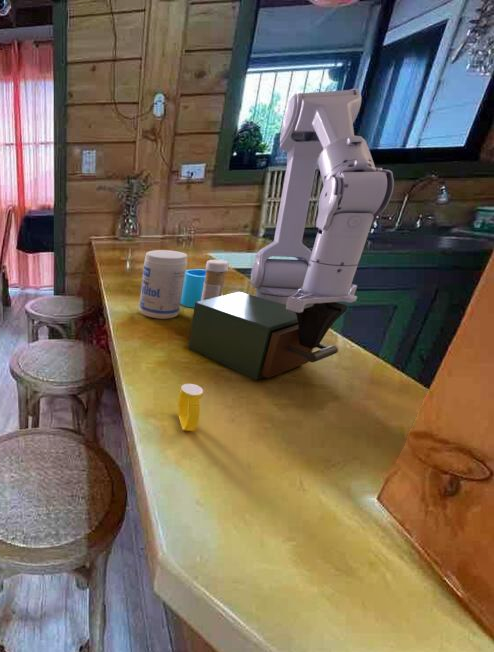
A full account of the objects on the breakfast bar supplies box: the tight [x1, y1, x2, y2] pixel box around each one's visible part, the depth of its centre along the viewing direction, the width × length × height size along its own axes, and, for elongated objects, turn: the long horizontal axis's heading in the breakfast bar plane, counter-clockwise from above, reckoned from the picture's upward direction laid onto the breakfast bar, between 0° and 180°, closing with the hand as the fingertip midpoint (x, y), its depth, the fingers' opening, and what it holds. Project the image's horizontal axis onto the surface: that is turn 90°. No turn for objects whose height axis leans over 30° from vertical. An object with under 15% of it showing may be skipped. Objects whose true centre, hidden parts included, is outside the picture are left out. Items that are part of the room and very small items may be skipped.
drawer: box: [261, 323, 339, 379], centre depth 66 cm, size 18×11×8 cm, turn 28°
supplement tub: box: [138, 249, 188, 320], centre depth 90 cm, size 10×10×15 cm
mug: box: [180, 268, 206, 309], centre depth 99 cm, size 12×8×8 cm
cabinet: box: [187, 291, 298, 381], centre depth 69 cm, size 15×13×10 cm
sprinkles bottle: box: [201, 259, 230, 301], centre depth 87 cm, size 5×5×14 cm
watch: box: [177, 383, 204, 432], centre depth 51 cm, size 6×3×6 cm, turn 171°
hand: (307, 345), depth 60 cm, fingers closed
